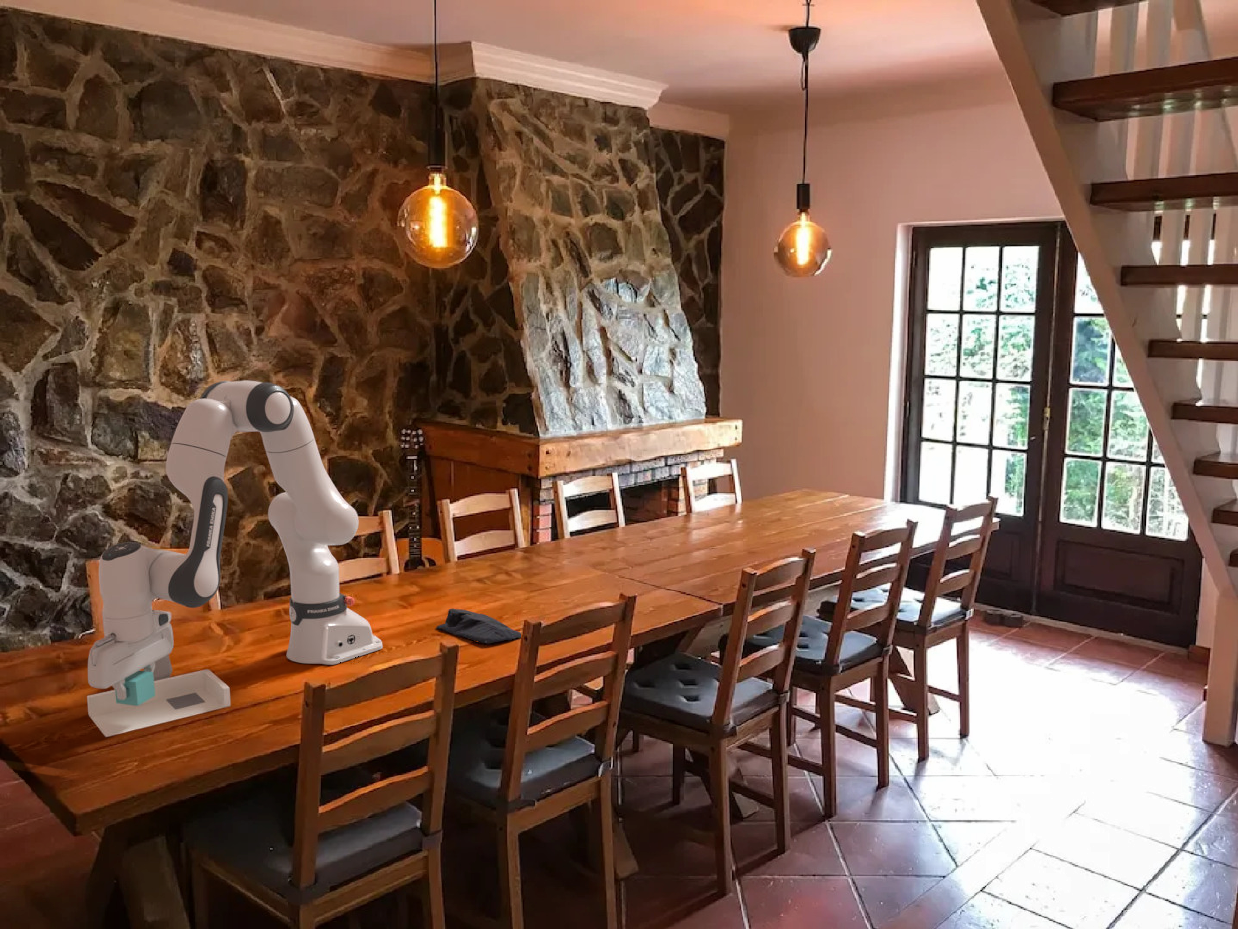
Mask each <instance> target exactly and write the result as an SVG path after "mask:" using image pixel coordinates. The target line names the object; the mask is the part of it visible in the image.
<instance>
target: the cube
mask: <svg viewBox="0 0 1238 929" xmlns="http://www.w3.org/2000/svg"><path fill="white" fill-rule="evenodd" d="M123 685H124V687H125V688H128V689H129V691H130V692H129V694H130V696H129V697H128V698H126V699H124V700H121V699H118V698H117V691H116V690H115V689H114V690H115V694H116V703H119V704H127V705H135V706H139V705H140V704H142V703H144V702H145V701H147V700H149V699H150V698H152V697H154V696H155V687H154V676H153V672H147V671H143V670H139V671H137V672H135V673H133V674H132V675H130V676H128V677H126V678H125V683H124V684H123Z"/></svg>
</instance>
